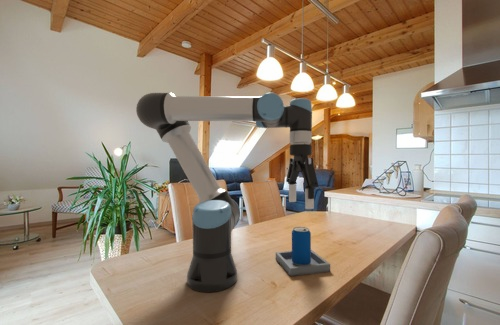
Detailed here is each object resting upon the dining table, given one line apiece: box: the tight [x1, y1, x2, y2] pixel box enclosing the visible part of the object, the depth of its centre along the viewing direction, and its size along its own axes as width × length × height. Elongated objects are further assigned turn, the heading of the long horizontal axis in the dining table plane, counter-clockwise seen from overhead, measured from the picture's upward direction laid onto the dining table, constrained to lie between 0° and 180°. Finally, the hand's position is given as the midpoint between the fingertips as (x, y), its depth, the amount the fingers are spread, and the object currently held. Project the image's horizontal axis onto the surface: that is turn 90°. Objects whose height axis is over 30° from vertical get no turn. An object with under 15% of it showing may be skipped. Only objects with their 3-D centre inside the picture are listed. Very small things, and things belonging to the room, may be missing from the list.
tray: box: [275, 249, 331, 277], centre depth 84 cm, size 14×14×2 cm
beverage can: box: [291, 226, 312, 266], centre depth 84 cm, size 6×6×12 cm
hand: (300, 205), depth 84 cm, fingers open, 13 cm apart
